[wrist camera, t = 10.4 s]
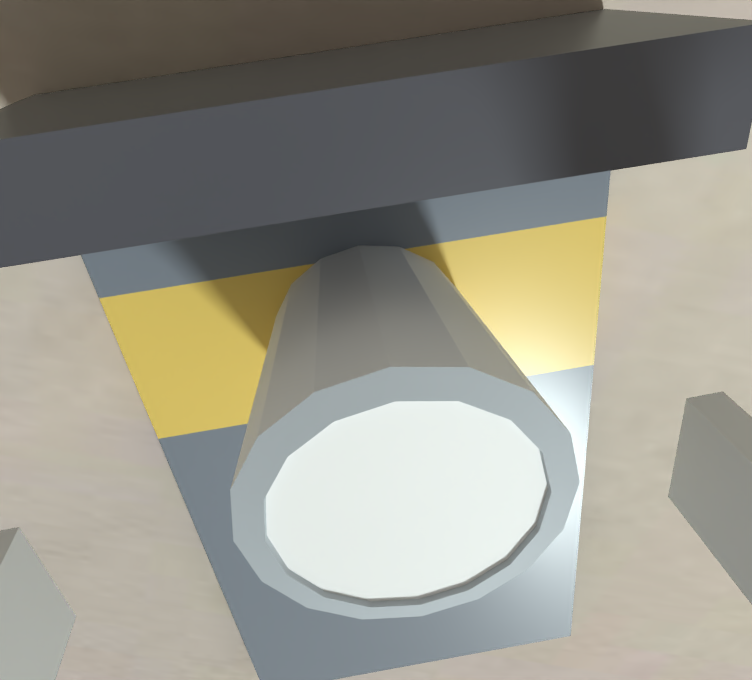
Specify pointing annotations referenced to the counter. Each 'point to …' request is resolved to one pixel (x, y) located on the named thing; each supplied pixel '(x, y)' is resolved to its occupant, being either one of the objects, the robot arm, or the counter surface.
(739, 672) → the counter surface
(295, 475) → the shot glass
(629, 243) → the counter surface
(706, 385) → the counter surface
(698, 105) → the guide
